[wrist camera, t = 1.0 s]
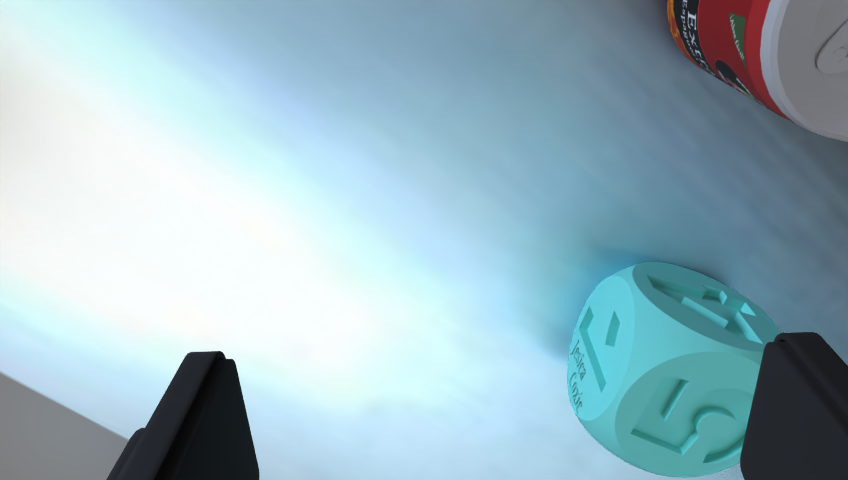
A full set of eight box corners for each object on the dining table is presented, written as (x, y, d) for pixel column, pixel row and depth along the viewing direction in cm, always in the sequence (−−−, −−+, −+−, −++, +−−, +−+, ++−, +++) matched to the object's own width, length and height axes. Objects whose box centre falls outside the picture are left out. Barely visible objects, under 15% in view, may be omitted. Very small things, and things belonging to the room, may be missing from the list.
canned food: (625, 6, 30) (716, 50, 20) (763, -155, 27) (947, -194, 17) (737, 106, 32) (870, 190, 22) (876, -34, 29) (1100, -8, 19)
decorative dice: (611, 245, 36) (655, 328, 28) (744, 282, 37) (819, 372, 29) (556, 359, 39) (583, 459, 32) (679, 391, 40) (732, 495, 33)
